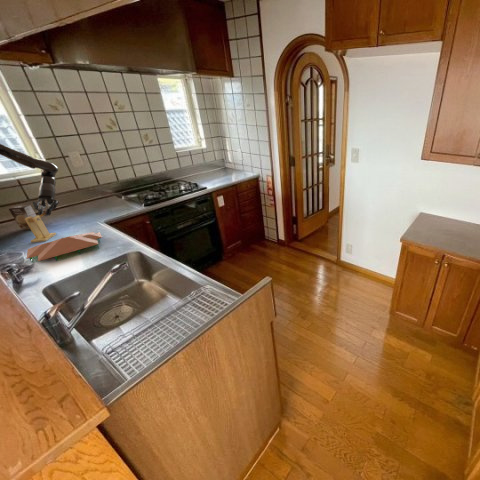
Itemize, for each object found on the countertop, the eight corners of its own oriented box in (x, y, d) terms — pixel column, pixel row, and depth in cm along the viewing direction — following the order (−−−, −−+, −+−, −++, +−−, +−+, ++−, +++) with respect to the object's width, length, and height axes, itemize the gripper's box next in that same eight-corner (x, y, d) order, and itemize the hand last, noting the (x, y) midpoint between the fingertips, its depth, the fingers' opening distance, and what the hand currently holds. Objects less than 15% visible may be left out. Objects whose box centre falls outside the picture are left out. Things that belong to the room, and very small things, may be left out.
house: (106, 247, 155) (100, 234, 151) (29, 269, 135) (20, 256, 131) (101, 235, 170) (95, 223, 166) (30, 253, 150) (22, 241, 146)
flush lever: (45, 215, 173) (43, 210, 172) (52, 214, 174) (49, 209, 172) (29, 223, 161) (26, 218, 159) (36, 222, 162) (33, 217, 160)
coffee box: (20, 230, 180) (7, 208, 172) (28, 226, 186) (15, 205, 178) (35, 229, 181) (22, 207, 174) (42, 225, 187) (30, 204, 179)
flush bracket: (42, 235, 171) (30, 214, 164) (56, 234, 173) (44, 213, 166) (31, 242, 163) (17, 221, 156) (46, 241, 164) (33, 219, 157)
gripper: (29, 190, 170) (26, 214, 165) (54, 188, 172) (52, 211, 168) (39, 195, 177) (36, 218, 172) (63, 193, 179) (61, 216, 175)
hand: (44, 215), depth 170 cm, fingers closed on flush lever, 3 cm apart
